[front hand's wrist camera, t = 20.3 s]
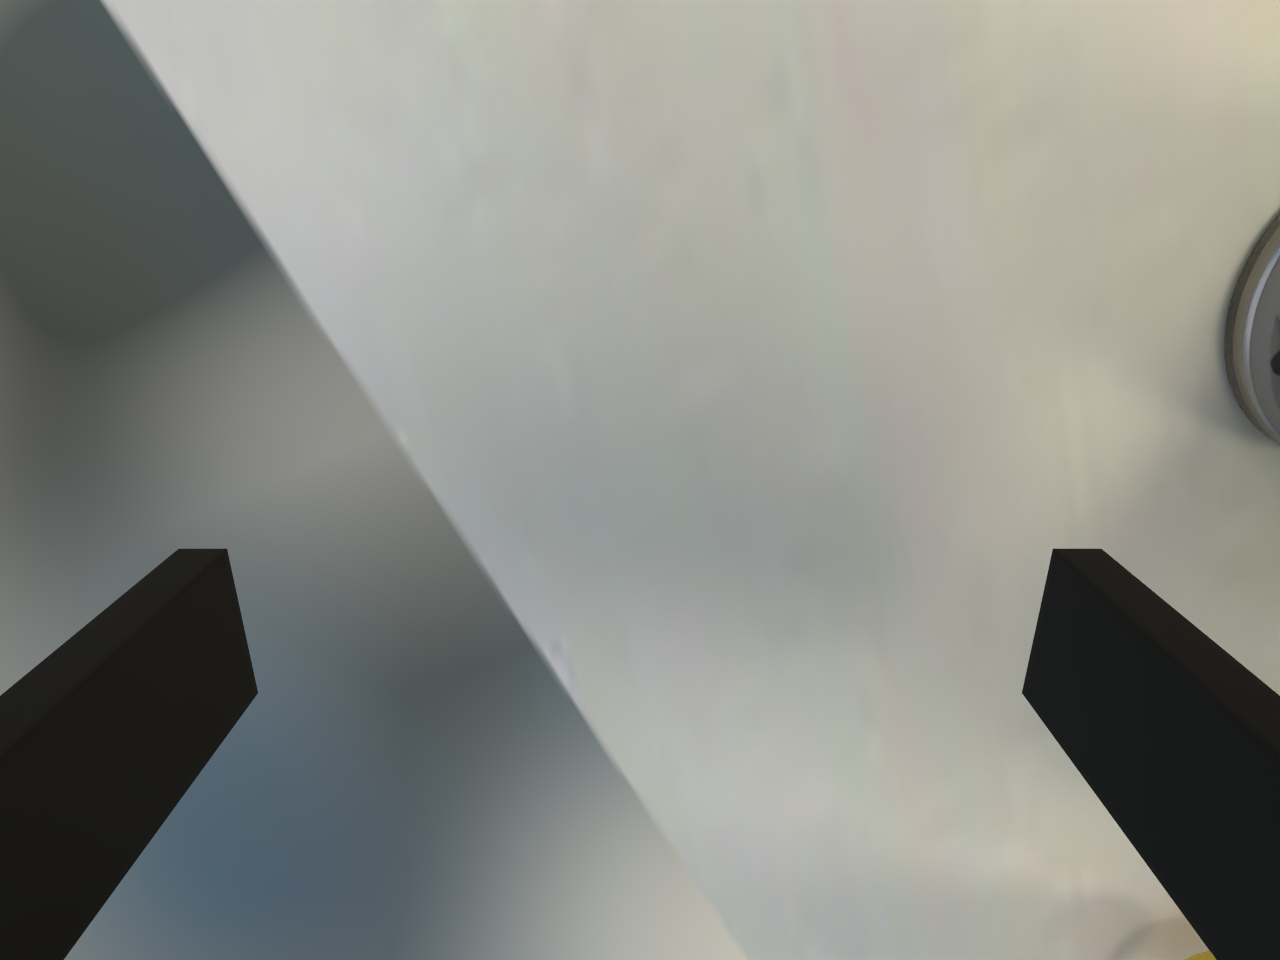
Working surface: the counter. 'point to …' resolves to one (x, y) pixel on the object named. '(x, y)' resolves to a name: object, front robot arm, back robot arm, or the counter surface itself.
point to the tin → (1202, 956)
